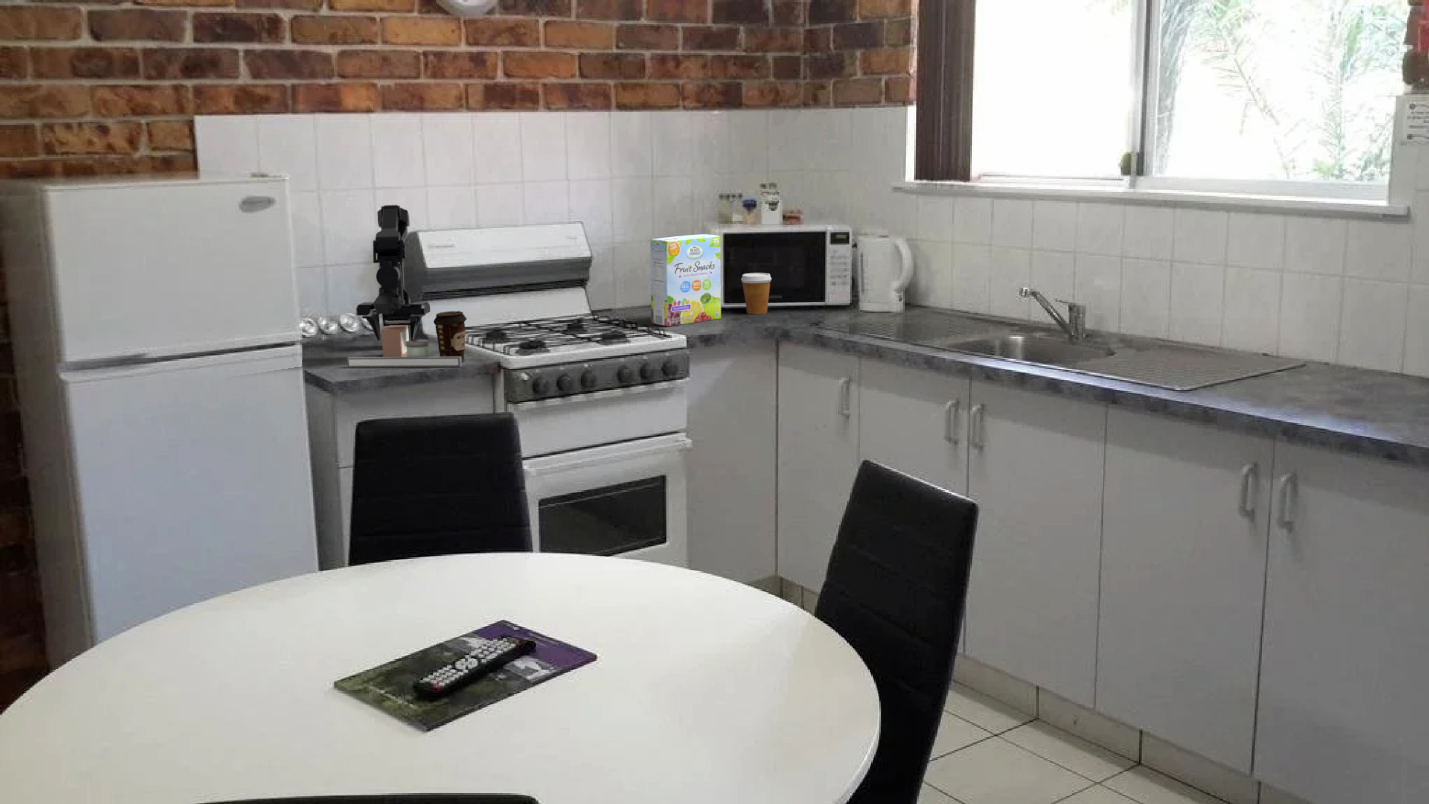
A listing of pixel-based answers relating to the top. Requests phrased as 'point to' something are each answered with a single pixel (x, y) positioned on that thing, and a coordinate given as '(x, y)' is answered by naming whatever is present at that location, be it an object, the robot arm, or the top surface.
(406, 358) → the rail
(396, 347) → the tea box
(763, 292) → the disposable coffee cup
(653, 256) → the snack box
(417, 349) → the spice jar
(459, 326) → the coffee cup
